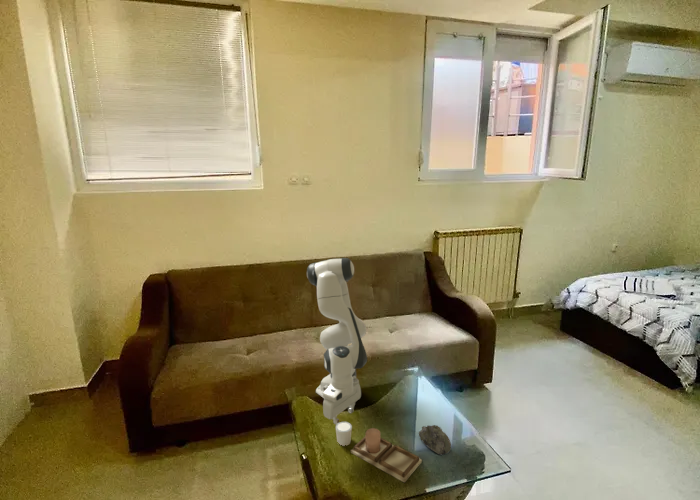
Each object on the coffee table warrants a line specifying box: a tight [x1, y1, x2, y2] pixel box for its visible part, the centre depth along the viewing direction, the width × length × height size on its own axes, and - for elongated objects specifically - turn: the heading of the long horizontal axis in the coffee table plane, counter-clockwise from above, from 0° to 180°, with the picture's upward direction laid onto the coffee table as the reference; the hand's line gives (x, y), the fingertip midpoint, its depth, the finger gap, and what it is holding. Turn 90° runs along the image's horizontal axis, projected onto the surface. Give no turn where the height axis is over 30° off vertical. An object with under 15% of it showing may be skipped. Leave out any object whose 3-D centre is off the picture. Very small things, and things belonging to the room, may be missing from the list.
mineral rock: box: [418, 424, 452, 456], centre depth 161 cm, size 13×11×10 cm
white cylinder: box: [335, 421, 353, 447], centre depth 164 cm, size 7×7×7 cm
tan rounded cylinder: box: [365, 427, 381, 454], centre depth 158 cm, size 6×6×7 cm
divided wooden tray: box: [350, 435, 423, 483], centre depth 155 cm, size 25×13×2 cm, turn 52°
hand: (343, 417), depth 162 cm, fingers open, 8 cm apart
